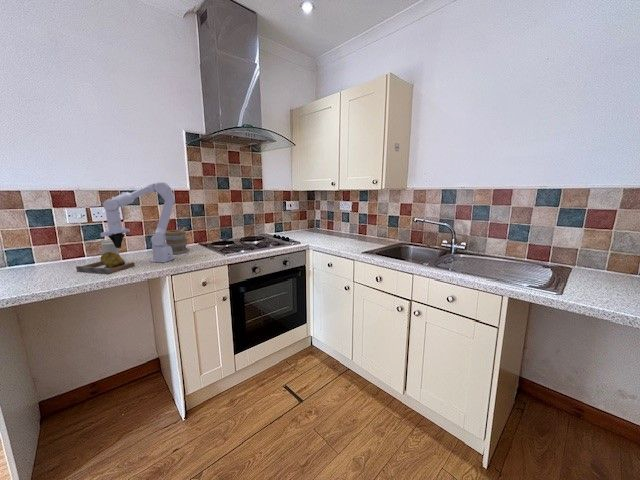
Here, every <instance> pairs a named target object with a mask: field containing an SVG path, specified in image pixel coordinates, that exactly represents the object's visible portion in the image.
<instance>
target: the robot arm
mask: <svg viewBox="0 0 640 480" xmlns="http://www.w3.org/2000/svg"><path fill="white" fill-rule="evenodd" d="M149 193H157V194H159V195H160V196H161V197H162V199H163V200H164V203H163V206H162V209H161V213H160V215H159V216H160V217H159V219H158V220H159V221H158V223H157V226H156V229H155V231H154V234H153V235H152V236H151V238H150V241H151V249H152V256H153V259H152V260H150V261H149V262H152V263H166V262H169V261H172V260H175V258H174V255H173V251H172V247H171V246H168V245H167V243H166V236H165V233H166V231H167V228H168V224H169V222H170V218H171V215H172V211H173V208H174V205H175V201H176V199H175V195H174V193H173V190H172V188H171V186H170V185H169V184H168V183H167V182H165V181H158V182H155V183H151V184H148V185H145V186H144V187H141V188H139V189H137V190H134V191H132V192H128V191H126V192H124V191H123V192H120V194H119V195H116V196H112V197H111V198H108V199H105V201H103V203H102V207H103V209H105V217H106V222H107V228H108V230H106V231H103V232H100V233H99V234H100V237H101V238H102V237H103V238H104V237H108V238H109V240H112V242H113V243H114V245H115V247H116V248H118V249H121V248H122V243H123V240H124V237H125V233H126V234H127V233H130V232H131V229H130V228H123V226H122V218H121V214H120V208H122V207H124V206H128V205H129V204H132V203H134V201H135V199H136V198H139V197H141V196H144V195H146V194H147V195H148V194H149Z"/></svg>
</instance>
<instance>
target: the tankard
mask: <svg viewBox="0 0 640 480" xmlns="http://www.w3.org/2000/svg"><path fill="white" fill-rule="evenodd" d="M188 229H189V228H188V227H186V226H184V227H182V228H181V229H172V230H166V233H165V236H166V240H165V242H166V243H167V245H168V246H171V247H172V251H173V256H176V255H183V254H186V253H189V249H188V248H187V245H188V242H187V241H188V239H187V236H186V231H188Z"/></svg>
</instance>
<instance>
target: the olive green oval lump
mask: <svg viewBox="0 0 640 480" xmlns="http://www.w3.org/2000/svg"><path fill="white" fill-rule="evenodd" d="M119 255H120V254H119ZM119 255H117V254H115V253H113V252H106V253H104V254H103V255H102V254H101V256H100V261H101V262H102V264H104V265H103V266H105V268H111V269H112V268H115V267H119V266H122V265H125V264H126V262H125V259H123V258H122V257H121V255H120V256H119Z"/></svg>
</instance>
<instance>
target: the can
mask: <svg viewBox="0 0 640 480" xmlns="http://www.w3.org/2000/svg"><path fill="white" fill-rule="evenodd" d="M100 247H101V253H102V254H101V256H102V255H103V254H104V253H106V252H113V253H115V254H117V255H119V256H120V257H121V254H120V250H119V249H120V248H116V247H115V245H114V243H113V242H112V240H111V239H106V240H105V239H104V240H102V241H101V243H100Z"/></svg>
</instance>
